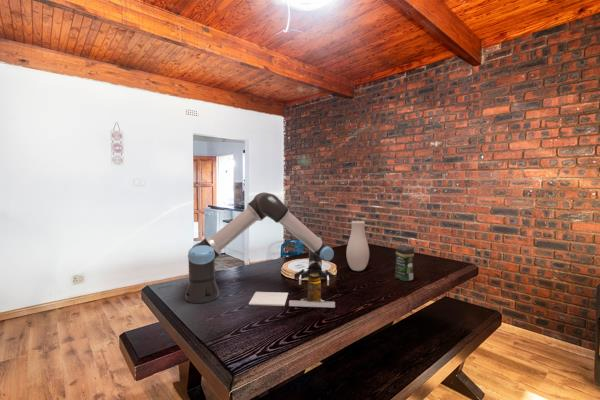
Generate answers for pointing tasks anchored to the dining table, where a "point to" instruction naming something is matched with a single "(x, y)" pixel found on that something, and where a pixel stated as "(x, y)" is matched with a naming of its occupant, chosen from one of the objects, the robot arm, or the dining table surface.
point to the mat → (269, 298)
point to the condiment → (314, 288)
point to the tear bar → (311, 303)
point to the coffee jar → (404, 263)
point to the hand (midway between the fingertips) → (313, 282)
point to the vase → (357, 247)
